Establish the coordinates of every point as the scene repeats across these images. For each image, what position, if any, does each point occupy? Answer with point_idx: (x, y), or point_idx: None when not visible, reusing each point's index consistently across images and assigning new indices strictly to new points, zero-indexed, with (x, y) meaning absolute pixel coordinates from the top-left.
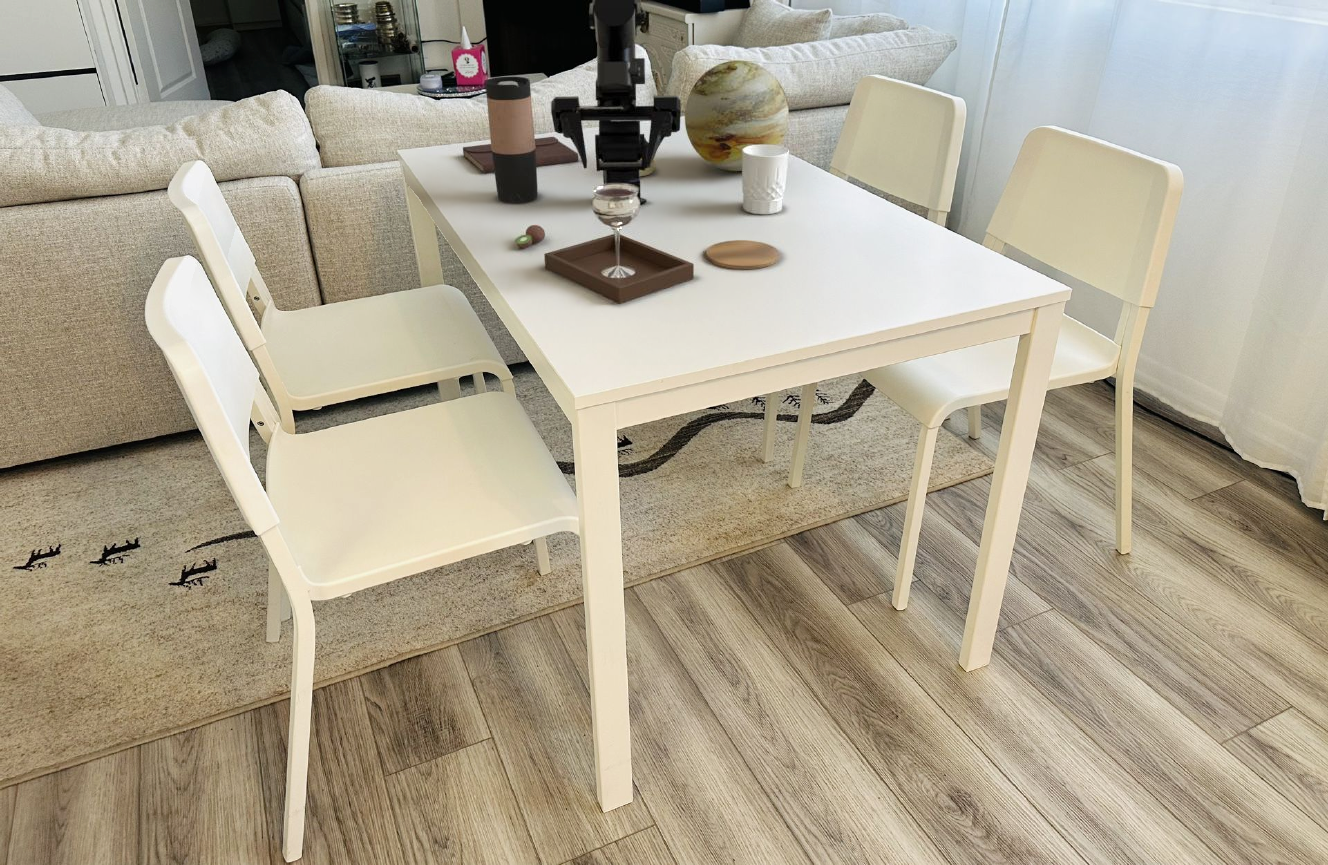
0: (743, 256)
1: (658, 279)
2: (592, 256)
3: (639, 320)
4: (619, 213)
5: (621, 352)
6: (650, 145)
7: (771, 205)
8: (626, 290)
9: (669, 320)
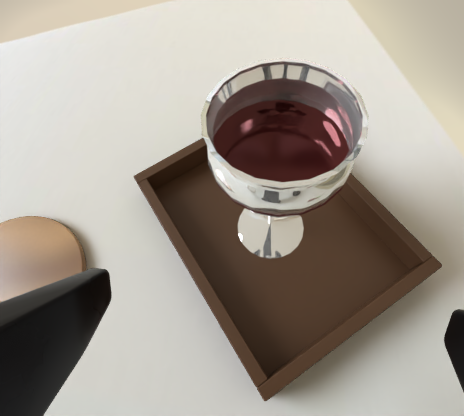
0: (18, 261)
1: None
2: (325, 321)
3: None
4: (271, 98)
5: (277, 16)
6: (6, 315)
7: None
8: None
9: (212, 72)
